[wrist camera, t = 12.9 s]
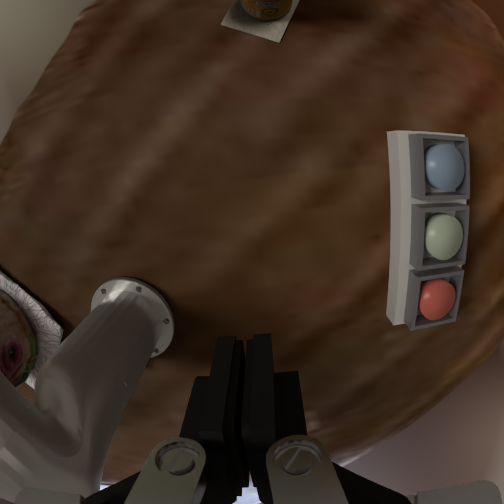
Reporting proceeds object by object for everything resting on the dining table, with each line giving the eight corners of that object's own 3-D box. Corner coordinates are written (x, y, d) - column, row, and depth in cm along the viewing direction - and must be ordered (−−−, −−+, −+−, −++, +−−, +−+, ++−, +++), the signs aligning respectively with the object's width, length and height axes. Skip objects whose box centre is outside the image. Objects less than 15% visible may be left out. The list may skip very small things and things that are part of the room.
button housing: (444, 304, 38) (462, 321, 33) (386, 314, 39) (400, 335, 34) (451, 135, 31) (476, 134, 26) (386, 132, 32) (406, 129, 27)
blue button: (455, 188, 30) (464, 190, 28) (421, 189, 30) (429, 191, 28) (454, 145, 28) (463, 145, 26) (418, 143, 29) (427, 142, 27)
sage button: (452, 252, 32) (461, 257, 30) (419, 256, 33) (426, 262, 31) (455, 211, 31) (464, 214, 29) (421, 213, 31) (429, 217, 29)
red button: (444, 309, 35) (451, 316, 33) (412, 315, 35) (419, 323, 33) (450, 273, 33) (458, 279, 31) (417, 278, 33) (424, 285, 32)
